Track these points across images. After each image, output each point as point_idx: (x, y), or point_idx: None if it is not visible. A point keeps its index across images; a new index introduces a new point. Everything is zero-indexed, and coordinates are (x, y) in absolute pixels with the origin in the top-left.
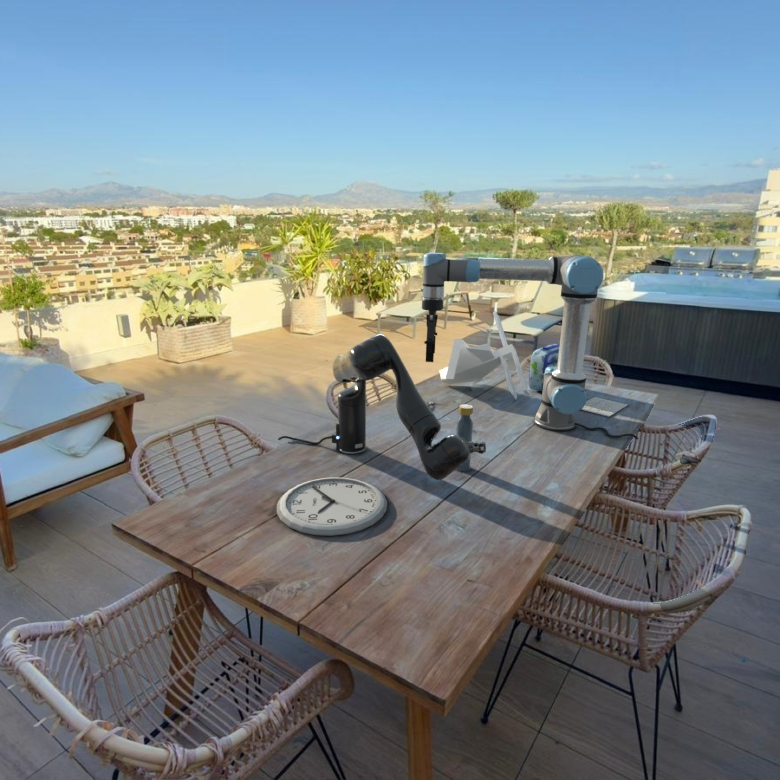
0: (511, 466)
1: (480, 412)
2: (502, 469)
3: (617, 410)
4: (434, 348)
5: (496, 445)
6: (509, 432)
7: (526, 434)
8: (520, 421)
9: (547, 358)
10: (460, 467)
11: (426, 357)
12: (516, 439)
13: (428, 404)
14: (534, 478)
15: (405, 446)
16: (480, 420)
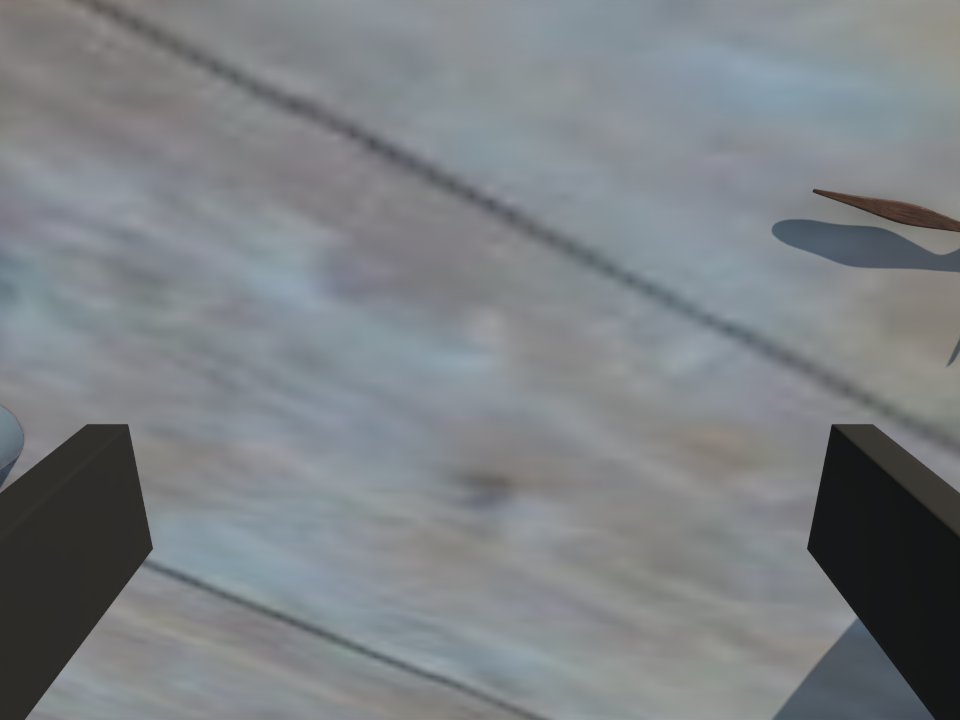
0: (94, 628)
1: (807, 539)
2: None
3: None
4: (857, 606)
5: (317, 587)
6: (503, 652)
7: (489, 715)
8: (668, 709)
9: None
10: None
11: (33, 481)
12: (416, 672)
13: (950, 221)
14: None
15: (161, 111)
16: (668, 534)
